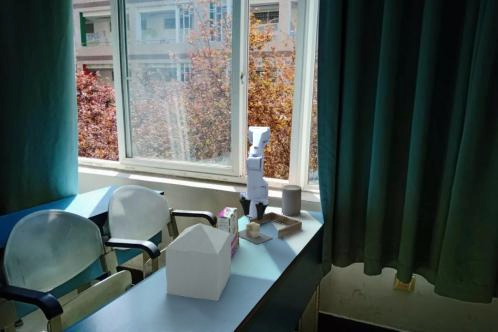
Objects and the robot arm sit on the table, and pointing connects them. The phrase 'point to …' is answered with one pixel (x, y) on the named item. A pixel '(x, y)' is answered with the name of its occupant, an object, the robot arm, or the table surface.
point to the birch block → (252, 229)
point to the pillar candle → (291, 200)
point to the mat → (255, 240)
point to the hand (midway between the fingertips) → (253, 217)
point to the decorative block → (199, 262)
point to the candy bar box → (229, 225)
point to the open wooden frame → (292, 223)
